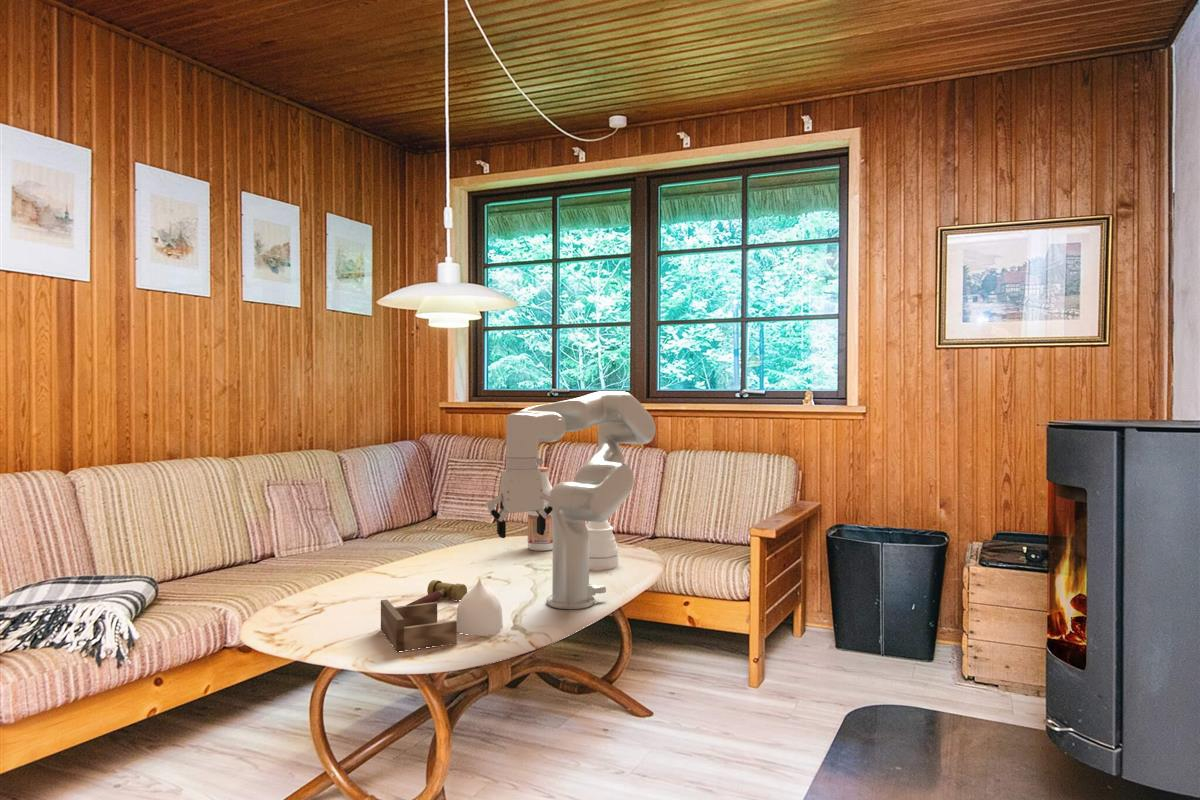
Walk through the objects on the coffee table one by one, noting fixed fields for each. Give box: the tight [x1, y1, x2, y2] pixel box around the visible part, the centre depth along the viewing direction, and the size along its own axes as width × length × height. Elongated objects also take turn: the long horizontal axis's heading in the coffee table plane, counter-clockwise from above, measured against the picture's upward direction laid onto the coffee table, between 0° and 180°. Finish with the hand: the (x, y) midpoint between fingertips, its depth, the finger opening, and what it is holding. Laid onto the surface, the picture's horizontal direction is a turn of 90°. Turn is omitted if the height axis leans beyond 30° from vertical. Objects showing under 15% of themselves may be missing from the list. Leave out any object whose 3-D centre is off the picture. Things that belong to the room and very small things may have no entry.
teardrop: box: [455, 577, 504, 636], centre depth 185 cm, size 11×11×12 cm
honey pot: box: [585, 519, 619, 570], centre depth 250 cm, size 13×13×18 cm
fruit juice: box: [527, 466, 554, 552], centre depth 274 cm, size 9×9×28 cm
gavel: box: [405, 579, 468, 606], centre depth 204 cm, size 21×5×10 cm
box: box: [380, 599, 458, 653], centre depth 178 cm, size 13×17×7 cm
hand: (521, 535), depth 190 cm, fingers open, 9 cm apart
